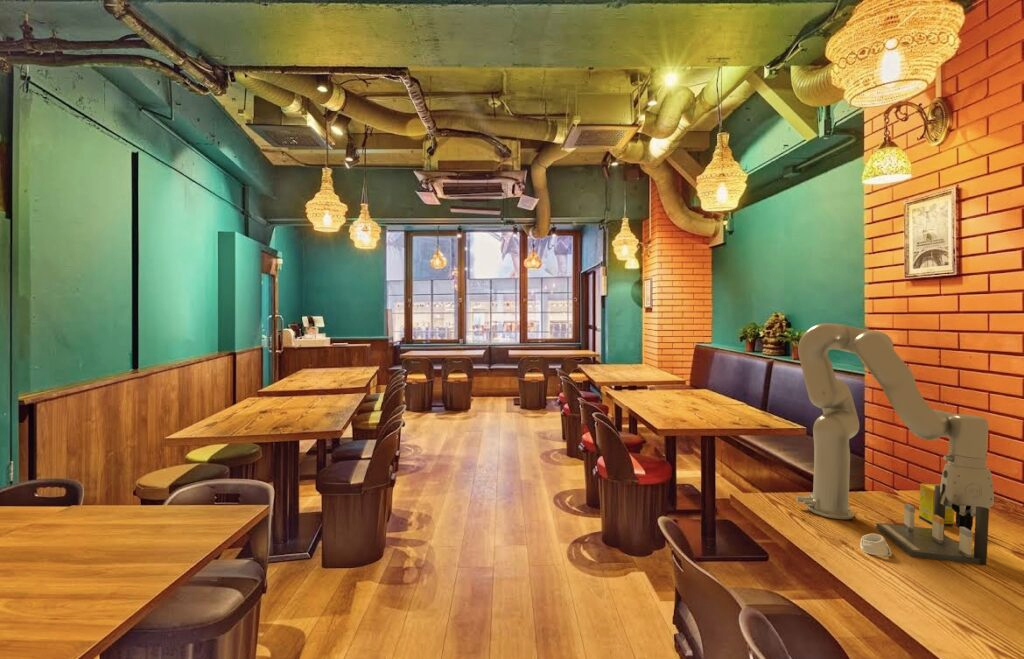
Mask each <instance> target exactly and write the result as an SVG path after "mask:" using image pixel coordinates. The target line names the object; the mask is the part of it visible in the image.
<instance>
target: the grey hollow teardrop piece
mask: <svg viewBox="0 0 1024 659" xmlns="http://www.w3.org/2000/svg"><path fill="white" fill-rule="evenodd" d="M859 546H860V547H859V549H860V550H861V551H862V552H863V553H865V554H868V555H873V556H880V557H892V550H891V548H890V546H889V545H888V543H887V540H886V538H885V537H884V536H883V535H881V534H879V533H868V534H867V533H866V534H865V535H863V536H861V538H860V544H859Z"/></svg>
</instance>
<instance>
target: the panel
mask: <svg viewBox="0 0 1024 659" xmlns="http://www.w3.org/2000/svg"><path fill="white" fill-rule="evenodd" d="M875 526H876V530H878V531H879V532H880V533H882V534H883V535H885V537H887V538H888V539H889V540H890V541H892V542H893V543H894V544H896V545H897V546H898V547H899V548H901V549H902V551H904V552H905V553H907V555H909V556H910V557H912V558H918V559H928V560H935V561H936V560H937V561H945V562H946V561H947V562H955V563H956V562H957V563H964V564H965V563H966V564H973V565H980V558H977V557H975V556H974V552H972V555H968V554H966V553H964V552H963V551H961V550H960V549H959V542H956V541H955V540H953V539H952V538H950V537H949V536H947V535H946V534H945V533H944V534H943V541H940V540H938V539H936V538H935V537H933V536H932V527H931V528H930V527H920V526H914V528H910V527H908V526H907V525H906V524H904V525H901V524H890V523H889V524H888V523H879V522H876V525H875Z"/></svg>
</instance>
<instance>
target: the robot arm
mask: <svg viewBox="0 0 1024 659" xmlns="http://www.w3.org/2000/svg"><path fill="white" fill-rule="evenodd" d="M831 350H837V351H842V352H846V353H850V354H855V355H856V356H857V357H858V359H859V360H860V361H861V363H863V365H864V367H866V368H867V370H868V371H869V373H870V374H871V375H872V377H873V378H874V379H875V380H876V382H877V383H878V384H879V385H880V387H881V389H882V390H883V393H884V395H885V397H886V399H888V401H889V404H890V405H891V407H892V408H893V410H894V411H895V413H896V414H897V415H898V417H899V418H900V419H901V421H902V422H903V423H904V425H905V427H907V428H908V430H909V431H910V432H912V434H913V435H914V436H915V437H917V438H919V439H922V440H926V441H935V440H939V439H940V438H942V437H948V452H947V455H943V458H942V459H943V460H944V461H947V463H945V464H944V467H943V470H942V473H941V474H942V475H941V478H940V479H941V480H940V485H941V486H940V496H941V497H942V499H941V504H943V505H944V506H947V507H951V508H952V509H953V510H954V513H955V525H956V527H957V528H959V527H965V528H967V529H969V530H970V531H973V530H972V528H973V525H974V522H973V521H974V517H976V506H980V507H985V508H988V509H989V510H990V509H991V507H993V506H994V503H995V502H994V501H995V500H994V499H995V495H994V493H995V490H994V481H993V476H992V472H991V469H989V468H987V465H988V464H987V461H988V460H987V459H988V441H989V421H988V420H987V419H986V418H984V417H982V416H979V415H973V414H966V413H965V414H962V413H961V414H960V413H953V412H948V411H944V410H940V409H934V408H933V409H932V407H931V406H930V405H929V404H928V402H927V401H926V400H925V398H923V396H922V394H921V393H920V391H919V389H918V387H917V383H916V378H915V375H914V373H913V372H912V370H911V369H910V367H909V366H908V365H907V364H906V362H905V361H904V360H903V359H902V358H901V357H900V355H899V354H898V353H897V352H896V350H895V349H894V342H893V339H891V337H890V336H889V335H887V334H886V333H884V332H882V331H878V330H871V329H865V328H860V327H855V326H853V325H852V326H851V325H846V324H842V323H841V324H840V323H830V322H827V323H825V322H823V323H819V324H816V325H813V326H811V327H810V328H809V329H807V330H806V331H805V332H804V333H803V334H802V336H801V337H800V339H799V342H798V345H797V354H798V359H799V362H800V367H801V370H802V374H803V379H804V382H805V387H806V390H807V395H808V396H807V397H808V399H809V401H810V403H811V404H812V405H813V406H815V407H817V408H819V409H821V410H822V414H821V415H819V417H817V418H816V420H815V421H814V424H813V427H812V433H813V434H812V435H813V436H812V437H813V446H814V447H813V448H814V450H813V451H814V452H813V455H814V457H813V462H814V463H813V487H812V488H813V490H812V493H811V492H810V493H809V495H806V496H803V495H796V497H795V500H796V502H797V503H802V504H803V505H806V509H808V511H810V512H811V513H814V514H815V515H818V516H821V517H824V518H825V517H826V518H828V519H835V520H850V519H851V520H852V519H853V518H854V517H855V512H854V511H853V510H852V509H851V508H850V507H849V503H850V502H849V497H850V476H851V475H850V474H851V473H850V472H851V471H850V470H851V450H850V439H852V438H854V437H855V436H857V434H858V432H859V430H860V420H859V417H858V413H857V409H856V406H855V402H854V398H853V394H852V391H851V390H850V387H849V386H848V385H847V383H846V382H844V380H842V379H840V378H837V377H836V375H835V372H834V371H835V370H834V366H833V363H832V361H831V359H830V356H829V351H831Z"/></svg>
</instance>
